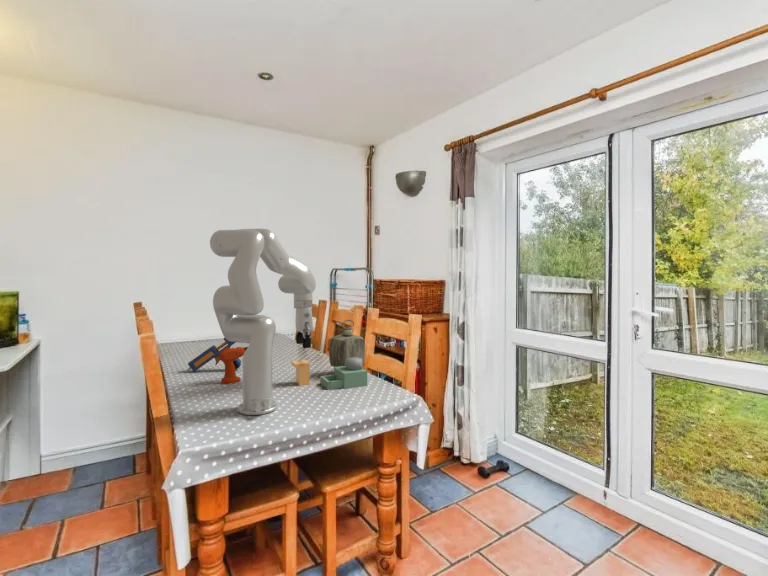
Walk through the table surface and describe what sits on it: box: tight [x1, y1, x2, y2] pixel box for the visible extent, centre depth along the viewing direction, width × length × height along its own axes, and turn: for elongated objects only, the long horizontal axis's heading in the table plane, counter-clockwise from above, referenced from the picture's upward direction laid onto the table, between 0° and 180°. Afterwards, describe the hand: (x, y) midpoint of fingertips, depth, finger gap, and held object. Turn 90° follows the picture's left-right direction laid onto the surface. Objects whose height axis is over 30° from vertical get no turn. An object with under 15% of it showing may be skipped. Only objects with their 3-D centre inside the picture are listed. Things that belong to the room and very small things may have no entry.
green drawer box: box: [319, 357, 368, 390], centre depth 165 cm, size 12×16×10 cm
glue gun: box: [184, 337, 242, 373], centre depth 184 cm, size 6×31×15 cm
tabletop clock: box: [328, 319, 366, 375], centre depth 179 cm, size 14×9×25 cm, turn 136°
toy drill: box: [219, 346, 248, 385], centre depth 169 cm, size 5×19×15 cm, turn 130°
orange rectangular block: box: [290, 359, 311, 387], centre depth 165 cm, size 6×6×9 cm
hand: (303, 345), depth 165 cm, fingers open, 9 cm apart
